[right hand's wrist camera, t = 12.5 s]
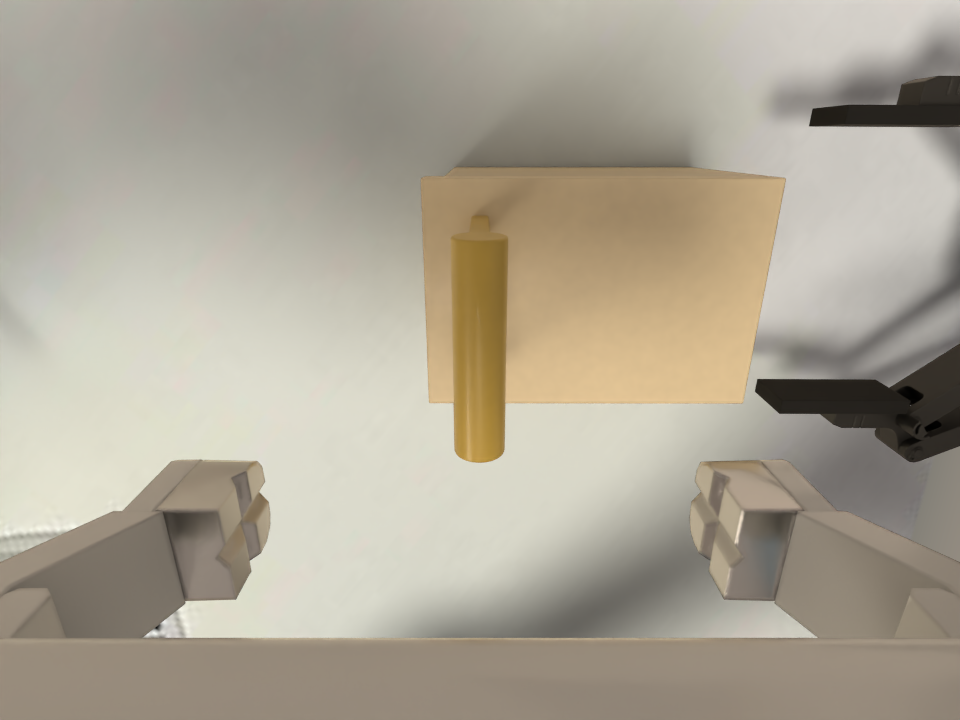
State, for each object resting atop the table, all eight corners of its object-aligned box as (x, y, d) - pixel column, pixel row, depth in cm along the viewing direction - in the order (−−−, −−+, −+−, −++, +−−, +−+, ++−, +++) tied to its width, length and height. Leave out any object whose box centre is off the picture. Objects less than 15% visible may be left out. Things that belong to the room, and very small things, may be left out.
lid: (431, 392, 26) (410, 496, 19) (423, 176, 23) (393, 193, 15) (731, 392, 26) (836, 496, 18) (771, 176, 23) (921, 193, 15)
